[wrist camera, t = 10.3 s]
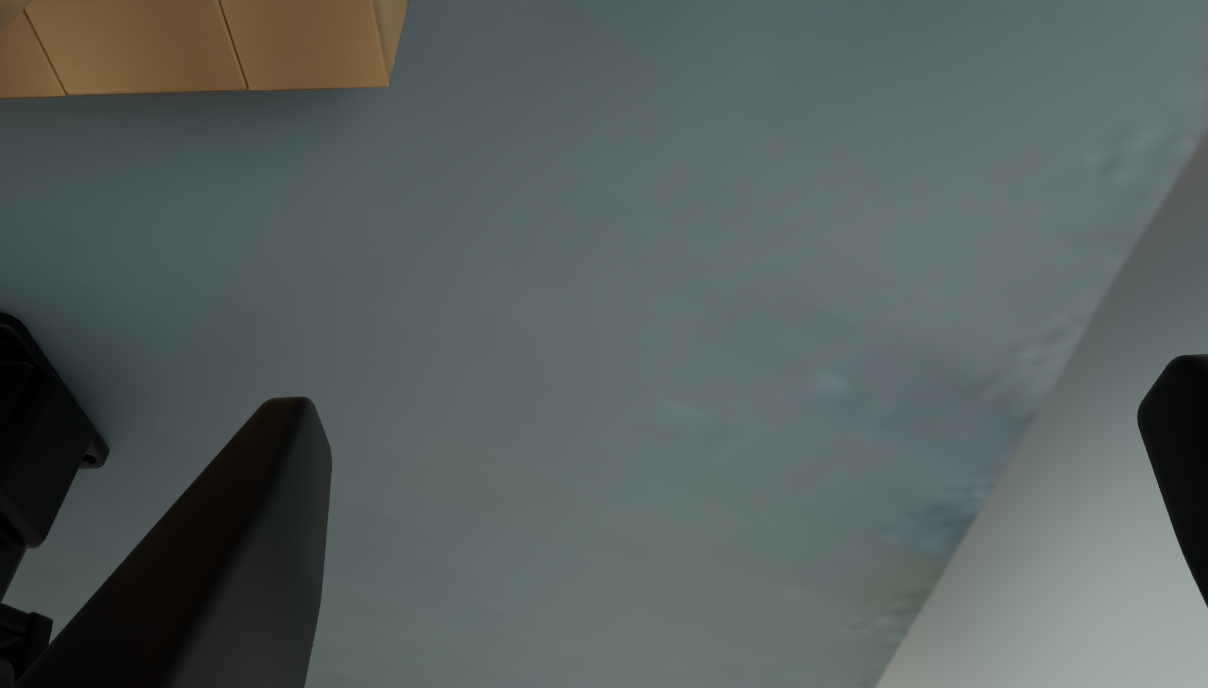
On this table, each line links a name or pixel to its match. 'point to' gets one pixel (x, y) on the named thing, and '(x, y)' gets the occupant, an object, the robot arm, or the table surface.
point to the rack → (198, 46)
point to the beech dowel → (11, 11)
